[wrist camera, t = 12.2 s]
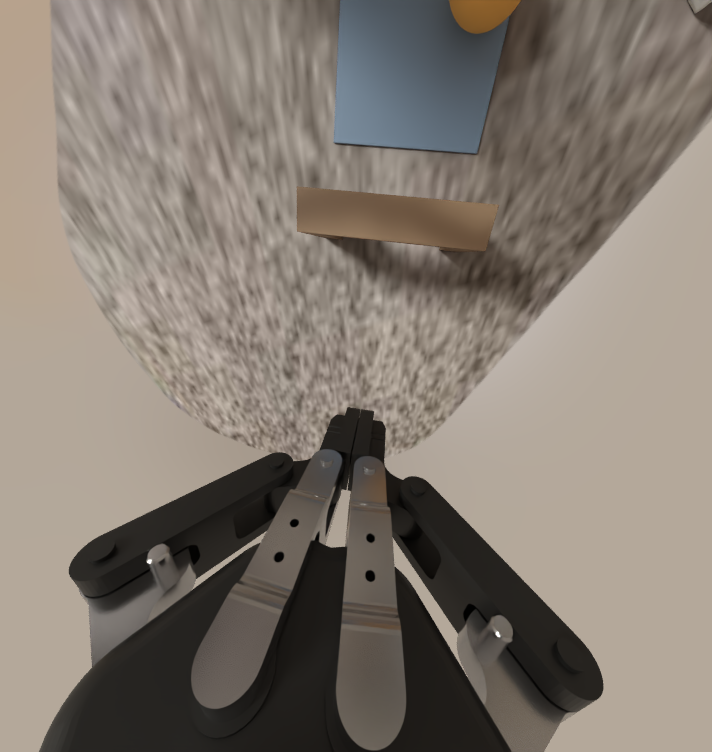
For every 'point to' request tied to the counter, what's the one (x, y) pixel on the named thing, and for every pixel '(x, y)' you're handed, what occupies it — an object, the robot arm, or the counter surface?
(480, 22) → the ball
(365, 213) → the bridge
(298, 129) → the counter surface
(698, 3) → the syrup box
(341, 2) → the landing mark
